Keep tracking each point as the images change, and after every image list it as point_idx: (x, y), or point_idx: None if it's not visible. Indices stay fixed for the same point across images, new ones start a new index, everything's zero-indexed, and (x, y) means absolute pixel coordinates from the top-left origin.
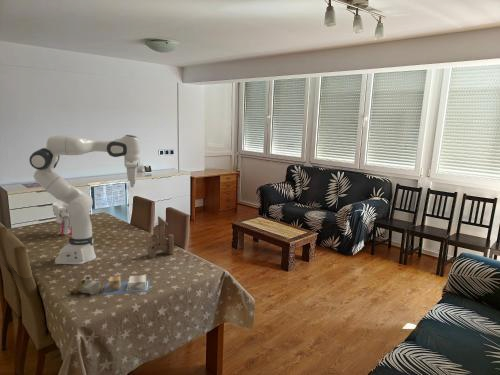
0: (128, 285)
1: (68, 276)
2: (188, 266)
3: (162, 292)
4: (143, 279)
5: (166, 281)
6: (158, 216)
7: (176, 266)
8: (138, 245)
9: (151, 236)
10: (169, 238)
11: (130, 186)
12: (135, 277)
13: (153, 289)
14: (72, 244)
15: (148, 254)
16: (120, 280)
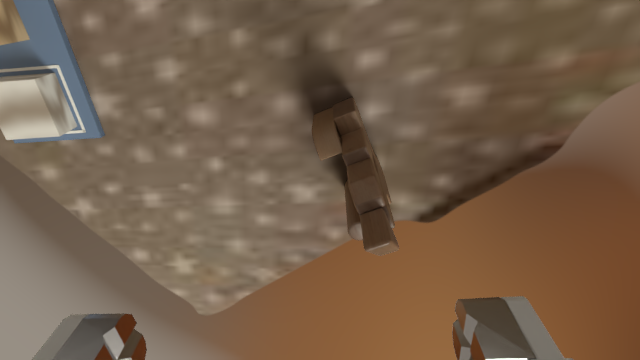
0: (34, 69)
1: None
2: (235, 238)
3: (39, 176)
4: (22, 132)
5: (114, 182)
6: (380, 244)
7: (234, 206)
8: (490, 37)
9: (356, 148)
10: (348, 219)
11: (61, 324)
12: (29, 102)
13: (50, 150)
14: None
15: (335, 105)
16: (11, 42)
